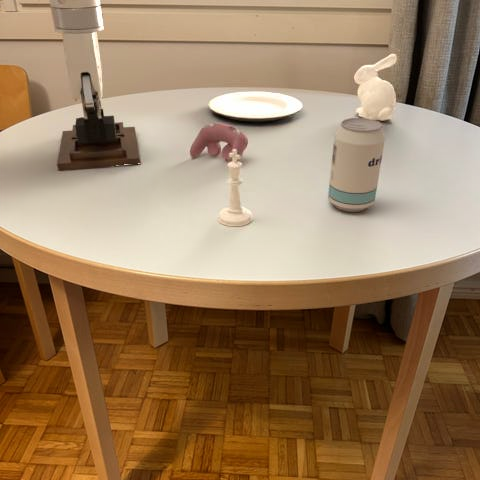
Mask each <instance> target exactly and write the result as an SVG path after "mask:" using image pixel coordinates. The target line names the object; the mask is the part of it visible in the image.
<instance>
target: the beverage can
mask: <svg viewBox="0 0 480 480" xmlns="http://www.w3.org/2000/svg"><path fill="white" fill-rule="evenodd" d="M385 141H386V137H385V134H384V131H383V124H382V123H381V121H379V120H372V119H366V118H363V117H351V118H346V119H343V120H342V121H340V126H339V128H338V129H337V130H336V132H335V133H334V137H333V148H332V157H331V167H330V175H329V184H328V193H327V195H328V196H327V200H328V201H329V203H331V204H333V206H334V207H335V208H336V209H338V210H340V211H343V212H348V213H358V212H362V211H364V210H366V209H367V208H369V207H371V206H373V204H374V203H375V201H376V196H377V189H378V184H379V177H380V171H381V166H382V160H383V155H384V147H385Z"/></svg>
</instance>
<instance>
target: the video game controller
mask: <svg viewBox="0 0 480 480" xmlns="http://www.w3.org/2000/svg"><path fill="white" fill-rule="evenodd" d="M221 142H223V143H225V144H226V145H224V147H222V146H221ZM248 143H249V140H248V136H247V134H245V133H244V132H242V131H241V130H240V129H238V128H236V127H235V126H232V125H230V124H226V123H219V122H218V123H205V125H204V127H202V128H201V129H200V130H199V132H198V133H197V135H196V138H195V139H194V141H193V142H192V143H191V146H190V149H189V155H190V157H191V158H192V159H195V158H197V157H198V156H200V155H201V154H202V153H203V152H204V150H205V149H207V153H208V155H210V156H212V157H218V156H219V155H220V154H221V156H222V158H223V159H225V160H227V164H228V163H229V162H232V157H229V153H232V150H233V149H236V150H237V155H240V156H241V158H242V157H243V154H244V152H245V150H246V149H247V147H248ZM240 160H241V159H239V160H238V159H237V162H240Z"/></svg>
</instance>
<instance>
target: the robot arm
mask: <svg viewBox="0 0 480 480" xmlns="http://www.w3.org/2000/svg"><path fill="white" fill-rule="evenodd" d="M49 5H50V12H51V16H52V21H53V27H54V32H56V33H58V34H59V33H60V34H62V43H63V52H64V57H65V64H66V70H67V76H68V83H69V89H70V95H71V100H72V101H73V102H77V101H78V100H80V99H81V100H80V101H81V107H82V112H83V117H84V125H85V131H86V137H87V142H88V143H98V142H106V134H105V127H104V121H103V117H104V116H105V114H104V113H105V112H104V108H102V101H101V100H102V98H103V70H102V61H101V60H102V59H101V53H100V45H99V39H98V32H101V31H103V30H105V26H104V18H103V11H102V5H101V0H49Z"/></svg>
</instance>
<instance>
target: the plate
mask: <svg viewBox="0 0 480 480" xmlns="http://www.w3.org/2000/svg"><path fill="white" fill-rule="evenodd" d="M208 108H209V110H210V111H212V112H213V113H215V114H217V115H220V116H223V117H226V118H227V119H231V120H235V121H239V122H248V123H265V122H274V121H278V120H282V119H284V118H287V117H290V116H293V115H295V114H297V113H299V112H301V110H302V108H303V104H302V102H301V101H300V100H298V99H297V98H295V97H293V96H290V95H287V94H282V93H278V92H277V93H276V92H269V91H268V92H267V91H239V92H231V93H226V94H222V95H219V96H216V97H213V98H212V99H211V100H210V101H209V102H208Z"/></svg>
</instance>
